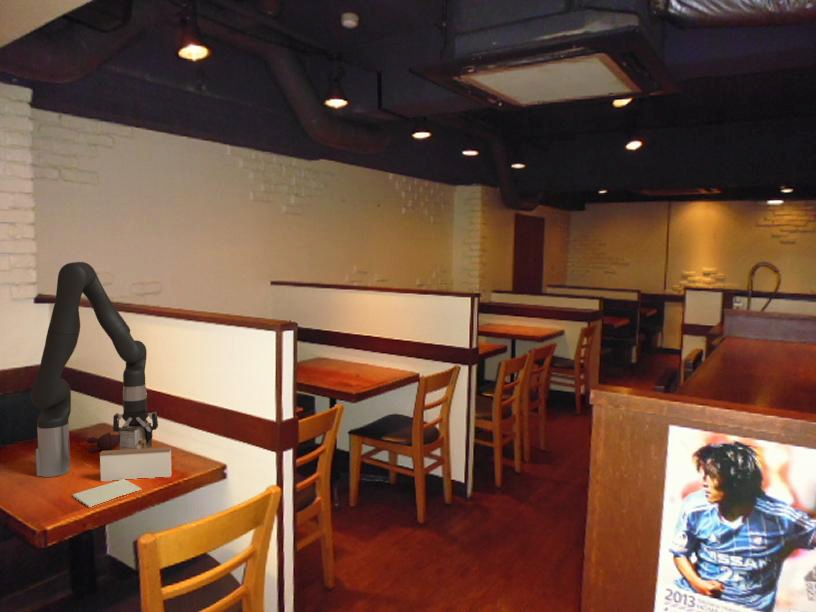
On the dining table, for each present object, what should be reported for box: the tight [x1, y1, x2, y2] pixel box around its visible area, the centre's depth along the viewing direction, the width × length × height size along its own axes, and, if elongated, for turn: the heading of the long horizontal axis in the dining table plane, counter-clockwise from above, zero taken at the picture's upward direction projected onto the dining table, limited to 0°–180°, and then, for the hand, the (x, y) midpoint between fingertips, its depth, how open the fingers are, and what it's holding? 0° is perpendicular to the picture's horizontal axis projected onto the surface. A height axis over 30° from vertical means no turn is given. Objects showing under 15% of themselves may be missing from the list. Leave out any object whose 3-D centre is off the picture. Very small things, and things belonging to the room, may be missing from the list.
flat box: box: [99, 446, 172, 482], centre depth 190 cm, size 22×2×10 cm, turn 103°
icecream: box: [86, 431, 120, 453], centre depth 217 cm, size 7×7×15 cm
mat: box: [72, 479, 142, 508], centre depth 178 cm, size 16×12×1 cm
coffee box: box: [118, 422, 153, 450], centre depth 197 cm, size 9×6×16 cm
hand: (136, 441), depth 197 cm, fingers closed on coffee box, 8 cm apart
